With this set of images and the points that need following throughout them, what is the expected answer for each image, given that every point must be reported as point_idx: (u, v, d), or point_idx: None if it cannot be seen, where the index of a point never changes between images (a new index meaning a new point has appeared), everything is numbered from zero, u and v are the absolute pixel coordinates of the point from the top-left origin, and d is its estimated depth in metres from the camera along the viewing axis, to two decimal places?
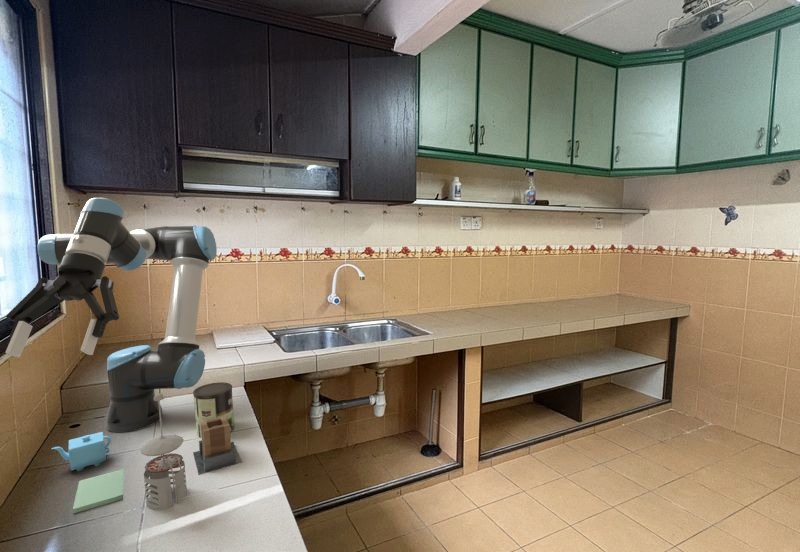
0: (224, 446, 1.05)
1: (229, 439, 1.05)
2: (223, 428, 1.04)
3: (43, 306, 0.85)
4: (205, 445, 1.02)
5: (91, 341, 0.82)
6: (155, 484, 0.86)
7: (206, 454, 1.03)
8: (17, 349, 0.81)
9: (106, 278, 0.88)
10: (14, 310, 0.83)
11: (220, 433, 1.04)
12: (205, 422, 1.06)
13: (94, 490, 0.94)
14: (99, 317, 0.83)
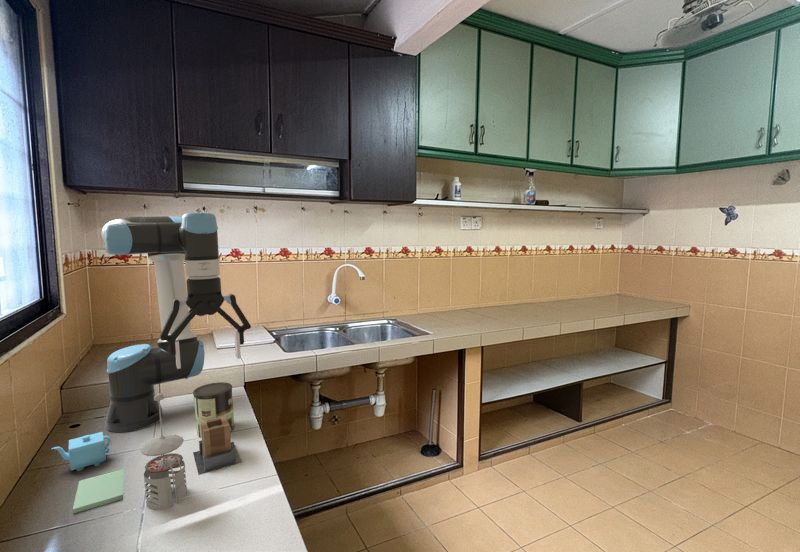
0: (224, 446, 1.05)
1: (229, 439, 1.05)
2: (223, 428, 1.04)
3: None
4: (205, 445, 1.02)
5: None
6: (155, 484, 0.86)
7: (206, 454, 1.03)
8: None
9: (234, 296, 1.04)
10: (165, 333, 0.97)
11: (220, 433, 1.04)
12: (205, 422, 1.06)
13: (94, 490, 0.94)
14: None
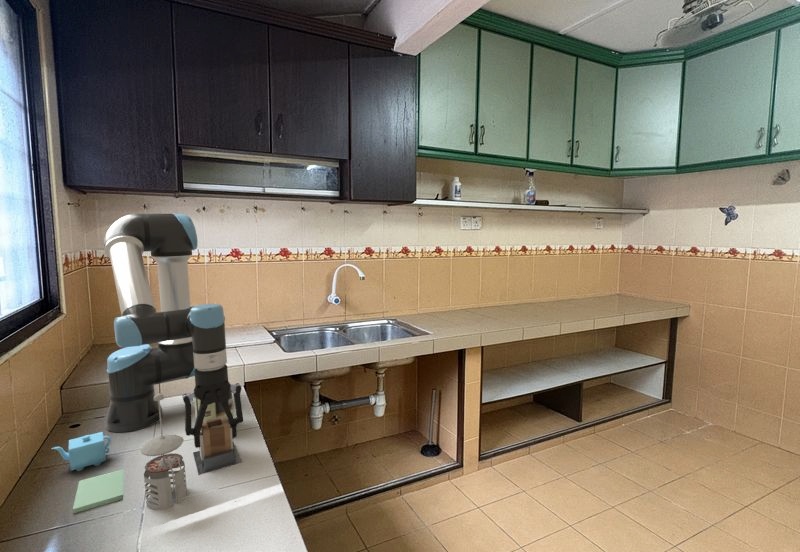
0: (224, 446, 1.05)
1: (229, 439, 1.05)
2: (223, 428, 1.04)
3: None
4: (205, 445, 1.02)
5: None
6: (155, 484, 0.86)
7: (206, 454, 1.03)
8: None
9: (240, 388, 1.07)
10: (188, 428, 1.01)
11: (220, 433, 1.04)
12: (205, 422, 1.06)
13: (94, 490, 0.94)
14: None
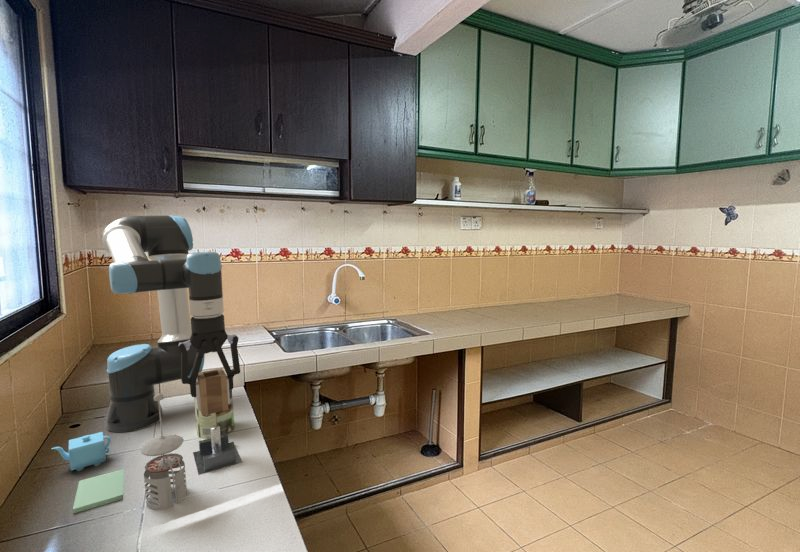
0: (221, 396, 1.03)
1: (226, 389, 1.04)
2: (220, 378, 1.03)
3: None
4: (201, 394, 1.01)
5: None
6: (155, 484, 0.86)
7: (202, 403, 1.01)
8: None
9: (237, 339, 1.06)
10: (184, 376, 1.00)
11: (216, 383, 1.02)
12: (201, 373, 1.05)
13: (94, 490, 0.94)
14: None
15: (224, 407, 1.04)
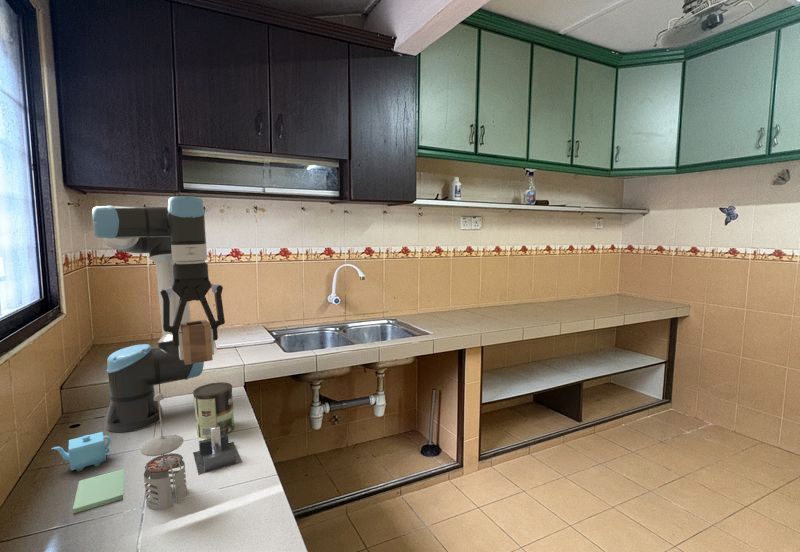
0: (204, 346, 1.00)
1: (210, 339, 1.01)
2: (203, 326, 1.00)
3: (182, 313, 1.00)
4: (184, 342, 0.98)
5: None
6: (155, 484, 0.86)
7: (185, 352, 0.98)
8: None
9: (221, 288, 1.03)
10: (166, 324, 0.97)
11: (200, 332, 1.00)
12: (184, 323, 1.02)
13: (94, 490, 0.94)
14: None
15: (208, 357, 1.01)
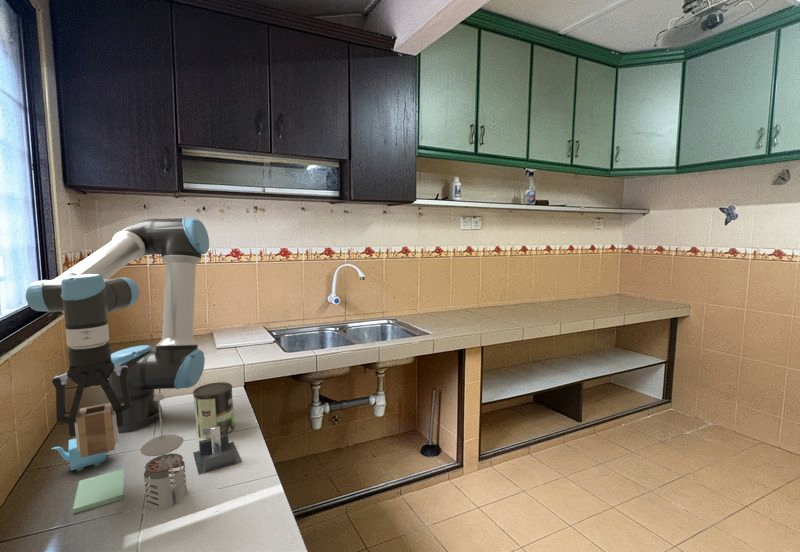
0: (104, 435, 0.92)
1: (110, 427, 0.93)
2: (102, 415, 0.92)
3: None
4: (79, 434, 0.90)
5: (117, 430, 0.96)
6: (155, 484, 0.86)
7: (81, 444, 0.90)
8: None
9: (126, 370, 0.95)
10: (59, 414, 0.89)
11: (98, 421, 0.92)
12: (85, 408, 0.94)
13: (94, 490, 0.94)
14: None
15: (109, 447, 0.93)
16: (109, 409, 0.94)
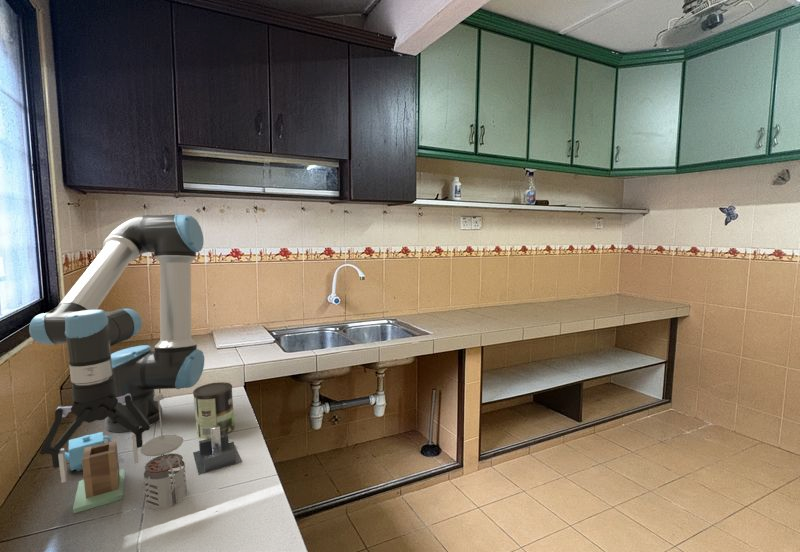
0: (109, 475, 0.94)
1: (115, 467, 0.94)
2: (107, 455, 0.93)
3: (72, 433, 0.92)
4: (84, 475, 0.91)
5: (137, 451, 0.99)
6: (155, 484, 0.86)
7: (86, 485, 0.92)
8: (66, 473, 0.92)
9: (129, 398, 0.96)
10: (45, 446, 0.89)
11: (103, 461, 0.93)
12: (90, 448, 0.96)
13: None
14: None
15: (113, 487, 0.94)
16: (113, 449, 0.95)
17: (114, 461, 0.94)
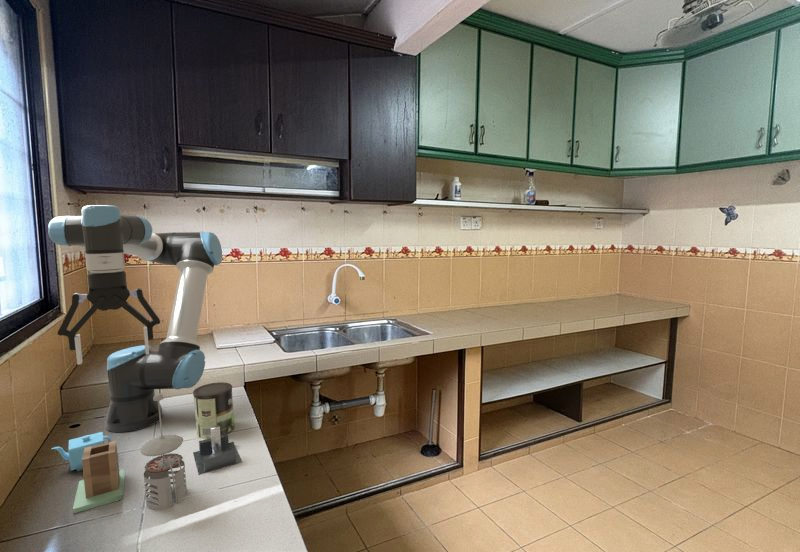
0: (109, 475, 0.94)
1: (115, 467, 0.94)
2: (107, 455, 0.93)
3: (87, 319, 0.98)
4: (84, 475, 0.91)
5: None
6: (155, 484, 0.86)
7: (86, 485, 0.92)
8: (81, 357, 0.98)
9: (141, 291, 1.02)
10: (63, 327, 0.95)
11: (103, 461, 0.93)
12: (90, 448, 0.96)
13: None
14: None
15: (113, 487, 0.94)
16: (113, 449, 0.95)
17: (114, 461, 0.94)
